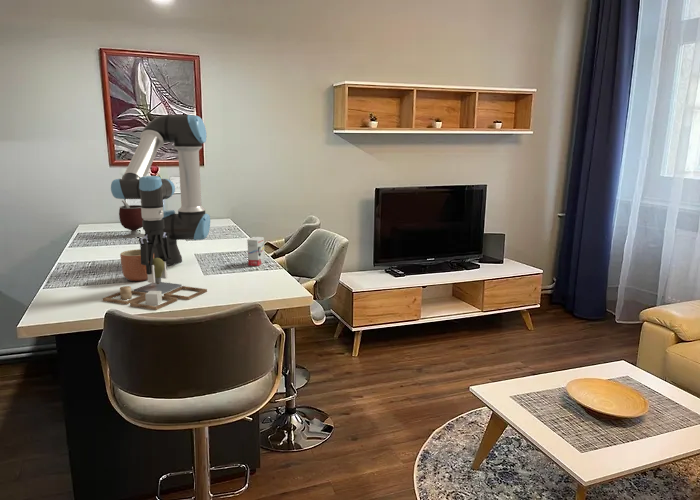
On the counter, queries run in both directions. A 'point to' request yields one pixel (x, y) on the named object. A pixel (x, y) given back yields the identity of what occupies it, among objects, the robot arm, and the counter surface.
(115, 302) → the wooden square frame
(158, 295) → the grey cube
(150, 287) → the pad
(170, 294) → the brown square outline
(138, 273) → the planter
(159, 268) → the light bulb
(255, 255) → the ink box
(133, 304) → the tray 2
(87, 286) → the counter surface
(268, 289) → the counter surface
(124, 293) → the cork stub
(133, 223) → the mate gourd
